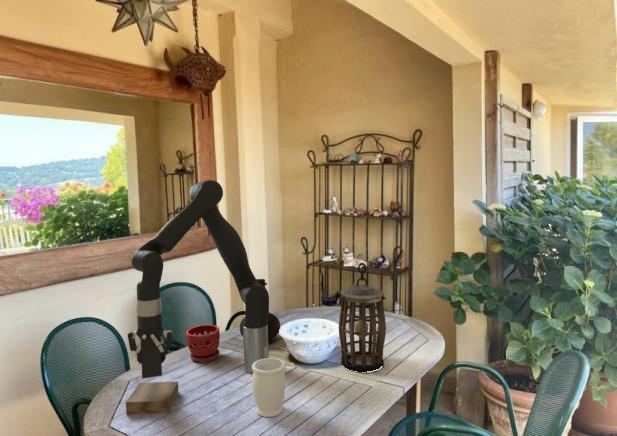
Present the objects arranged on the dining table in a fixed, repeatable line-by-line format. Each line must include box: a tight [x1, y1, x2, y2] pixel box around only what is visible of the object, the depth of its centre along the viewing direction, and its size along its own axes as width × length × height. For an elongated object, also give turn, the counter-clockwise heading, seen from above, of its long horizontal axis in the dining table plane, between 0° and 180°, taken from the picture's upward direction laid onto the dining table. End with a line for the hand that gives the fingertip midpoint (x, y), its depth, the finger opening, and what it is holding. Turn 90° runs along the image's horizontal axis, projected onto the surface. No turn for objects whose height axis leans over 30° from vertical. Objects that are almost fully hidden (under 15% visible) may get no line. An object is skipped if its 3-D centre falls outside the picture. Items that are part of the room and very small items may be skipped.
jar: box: [251, 357, 286, 418], centre depth 140 cm, size 11×10×15 cm
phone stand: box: [140, 337, 163, 379], centre depth 144 cm, size 9×6×12 cm, turn 19°
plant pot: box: [185, 324, 221, 363], centre depth 181 cm, size 13×13×12 cm
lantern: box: [338, 262, 387, 373], centre depth 172 cm, size 19×19×40 cm
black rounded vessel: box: [239, 278, 281, 344], centre depth 198 cm, size 18×18×28 cm
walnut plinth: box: [125, 381, 180, 415], centre depth 146 cm, size 13×13×4 cm
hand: (151, 362), depth 145 cm, fingers closed on phone stand, 6 cm apart
